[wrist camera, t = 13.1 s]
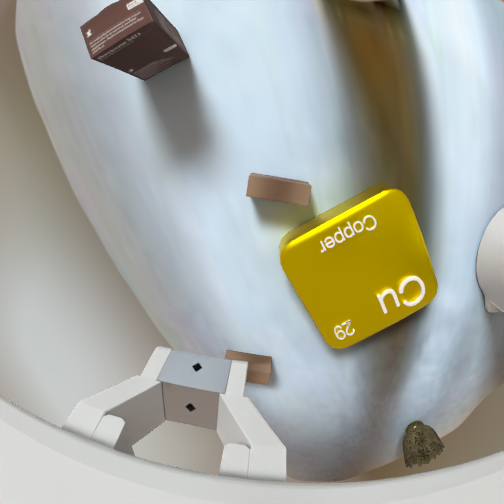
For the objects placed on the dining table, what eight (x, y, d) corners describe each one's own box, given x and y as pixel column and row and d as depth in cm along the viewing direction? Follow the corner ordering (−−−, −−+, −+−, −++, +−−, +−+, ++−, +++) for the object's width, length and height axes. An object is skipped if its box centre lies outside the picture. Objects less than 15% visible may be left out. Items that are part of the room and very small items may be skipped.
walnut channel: (307, 182, 32) (311, 186, 28) (268, 367, 40) (267, 384, 37) (251, 172, 32) (249, 175, 28) (225, 360, 40) (221, 377, 37)
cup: (437, 411, 42) (452, 442, 35) (419, 435, 45) (430, 465, 37) (406, 413, 43) (419, 447, 35) (389, 438, 45) (398, 470, 37)
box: (145, 83, 29) (88, 61, 18) (133, 54, 28) (77, 24, 16) (193, 58, 28) (153, 20, 16) (179, 29, 27) (137, -16, 15)
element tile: (387, 177, 31) (403, 181, 27) (427, 282, 35) (443, 298, 30) (272, 239, 35) (271, 253, 30) (328, 335, 38) (333, 358, 34)
